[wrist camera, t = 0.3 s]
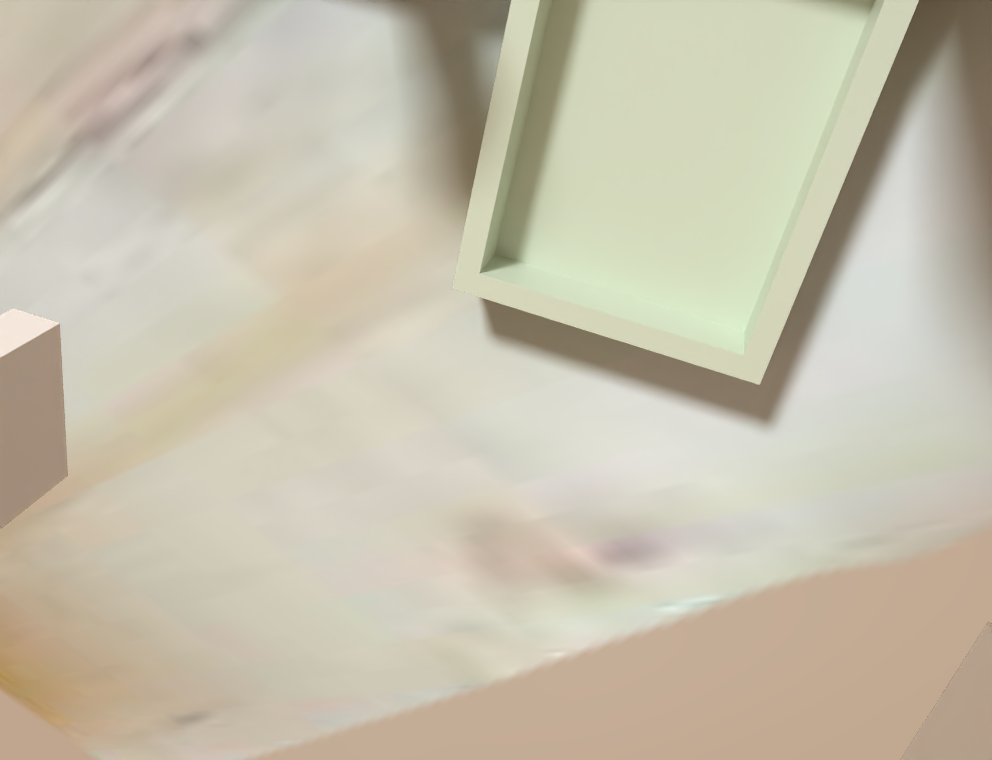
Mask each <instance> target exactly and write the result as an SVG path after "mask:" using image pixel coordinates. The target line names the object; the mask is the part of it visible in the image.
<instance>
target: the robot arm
mask: <svg viewBox="0 0 992 760" xmlns="http://www.w3.org/2000/svg"><path fill="white" fill-rule="evenodd" d="M67 476H68V469H67V451H66V432H65V413H64V394H63V376H62V357H61V338H60V323H57V322H54V321H51V320H48V319H45V318H41V317H38V316H35V315H32V314H29V313H26V312H23V311H20V310H17V309H11V310H10V311H8V312H6V313H4V314H2V315H0V529H2V528H3V527H4V526H5V525H7V524H8V523H9V522H10V521H12V520H13V519H14V518H15V517H17V516H18V515H19V514H20V513H22V512H23V511H24V510H25V509H27V508H28V507H29V506H30V505H32V504H33V503H34V502H35V501H37V500H38V499H39V498H40V497H42V496H43V495H44V494H45V493H47V492H48V491H49V490H50V489H52V488H53V487H54V486H55V485H57V484H58V483H59V482H60V481H62V480H63V479H64V478H65V477H67ZM901 760H992V623H990V622H988V623H987V624H986V626H985V627H984V629H983V631H982V632H981V634H980V636H979V637H978V638H977V640H976V642H975V643H974V645H973V646H972V648H971V649H970V651H969V653H968V654H967V656H966V657H965V659H964V660H963V662H962V664H961V665H960V667H959V668H958V670H957V672H956V673H955V675H954V676H953V678H952V679H951V681H950V682H949V684H948V686H947V687H946V689H945V690H944V692H943V694H942V695H941V697H940V698H939V700H938V702H937V703H936V705H935V706H934V708H933V709H932V711H931V713H930V714H929V716H928V717H927V719H926V720H925V722H924V724H923V725H922V727H921V728H920V730H919V731H918V733H917V735H916V736H915V738H914V739H913V741H912V742H911V744H910V746H909V747H908V749H907V750H906V752H905V754H904V755H903V757H902V758H901Z"/></svg>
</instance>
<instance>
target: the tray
mask: <svg viewBox="0 0 992 760" xmlns="http://www.w3.org/2000/svg"><path fill="white" fill-rule="evenodd" d="M918 2H919V0H511V4H510V9H509V13H508V18H507V23H506V28H505V33H504V38H503V43H502V47H501V52H500V57H499V62H498V67H497V72H496V77H495V81H494V86H493V91H492V96H491V101H490V106H489V111H488V115H487V120H486V125H485V130H484V135H483V140H482V145H481V149H480V154H479V159H478V164H477V169H476V174H475V178H474V183H473V188H472V193H471V198H470V203H469V208H468V212H467V217H466V222H465V227H464V232H463V237H462V242H461V246H460V251H459V256H458V261H457V266H456V271H455V276H454V280H453V285H452V289H455V290H458V291H461V292H464V293H468V294H471V295H474V296H477V297H480V298H484V299H487V300H490V301H493V302H496V303H500V304H503V305H506V306H509V307H512V308H515V309H519V310H522V311H525V312H528V313H531V314H535V315H538V316H541V317H544V318H547V319H551V320H554V321H557V322H560V323H563V324H567V325H570V326H573V327H576V328H579V329H582V330H586V331H589V332H592V333H595V334H598V335H602V336H605V337H608V338H611V339H614V340H618V341H621V342H624V343H627V344H630V345H634V346H637V347H640V348H643V349H646V350H649V351H653V352H656V353H659V354H662V355H665V356H669V357H672V358H675V359H678V360H681V361H685V362H688V363H691V364H694V365H697V366H701V367H704V368H707V369H710V370H713V371H717V372H720V373H723V374H726V375H729V376H732V377H736V378H739V379H742V380H745V381H748V382H752V383H755V384H758V385H760V383H761V381H762V378H763V376H764V373H765V371H766V369H767V366H768V364H769V361H770V359H771V356H772V354H773V352H774V349H775V347H776V344H777V342H778V340H779V337H780V335H781V332H782V330H783V328H784V325H785V323H786V320H787V318H788V315H789V313H790V311H791V308H792V306H793V303H794V301H795V299H796V296H797V294H798V291H799V289H800V286H801V284H802V282H803V279H804V277H805V274H806V272H807V270H808V267H809V265H810V262H811V260H812V258H813V255H814V253H815V250H816V248H817V245H818V243H819V241H820V238H821V236H822V233H823V231H824V229H825V226H826V224H827V221H828V219H829V216H830V214H831V212H832V209H833V207H834V204H835V202H836V200H837V197H838V195H839V192H840V190H841V188H842V185H843V183H844V180H845V178H846V175H847V173H848V171H849V168H850V166H851V163H852V161H853V159H854V156H855V154H856V151H857V149H858V146H859V144H860V142H861V139H862V137H863V134H864V132H865V130H866V127H867V125H868V122H869V120H870V118H871V115H872V113H873V110H874V108H875V105H876V103H877V101H878V98H879V96H880V93H881V91H882V89H883V86H884V84H885V81H886V79H887V76H888V74H889V72H890V69H891V67H892V64H893V62H894V60H895V57H896V55H897V52H898V50H899V48H900V45H901V43H902V40H903V38H904V35H905V33H906V31H907V28H908V26H909V23H910V21H911V19H912V16H913V14H914V11H915V9H916V6H917V4H918Z"/></svg>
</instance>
